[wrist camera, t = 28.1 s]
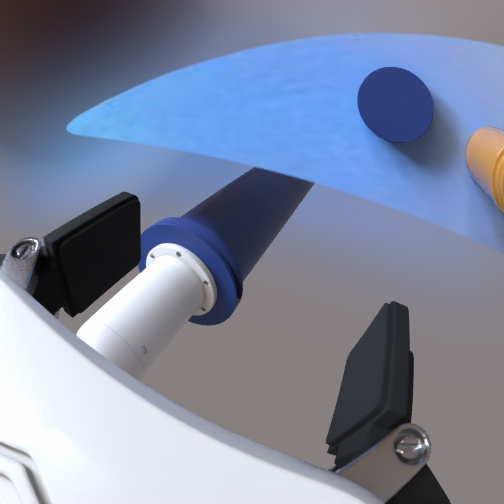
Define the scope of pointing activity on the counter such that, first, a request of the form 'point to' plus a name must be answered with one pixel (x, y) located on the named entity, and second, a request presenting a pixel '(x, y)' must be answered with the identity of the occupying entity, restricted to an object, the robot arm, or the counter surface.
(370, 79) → the jar lid
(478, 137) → the jam jar
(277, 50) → the counter surface
